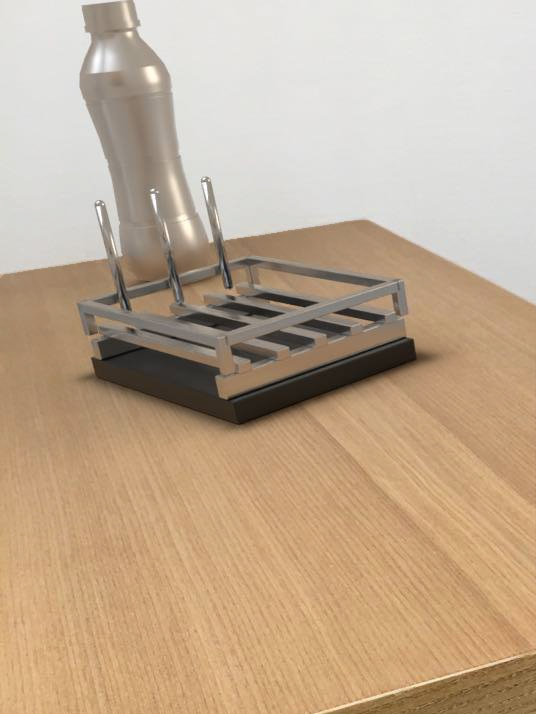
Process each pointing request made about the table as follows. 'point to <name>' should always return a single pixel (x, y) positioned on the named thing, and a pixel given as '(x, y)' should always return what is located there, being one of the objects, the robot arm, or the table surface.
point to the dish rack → (242, 331)
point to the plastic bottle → (139, 141)
